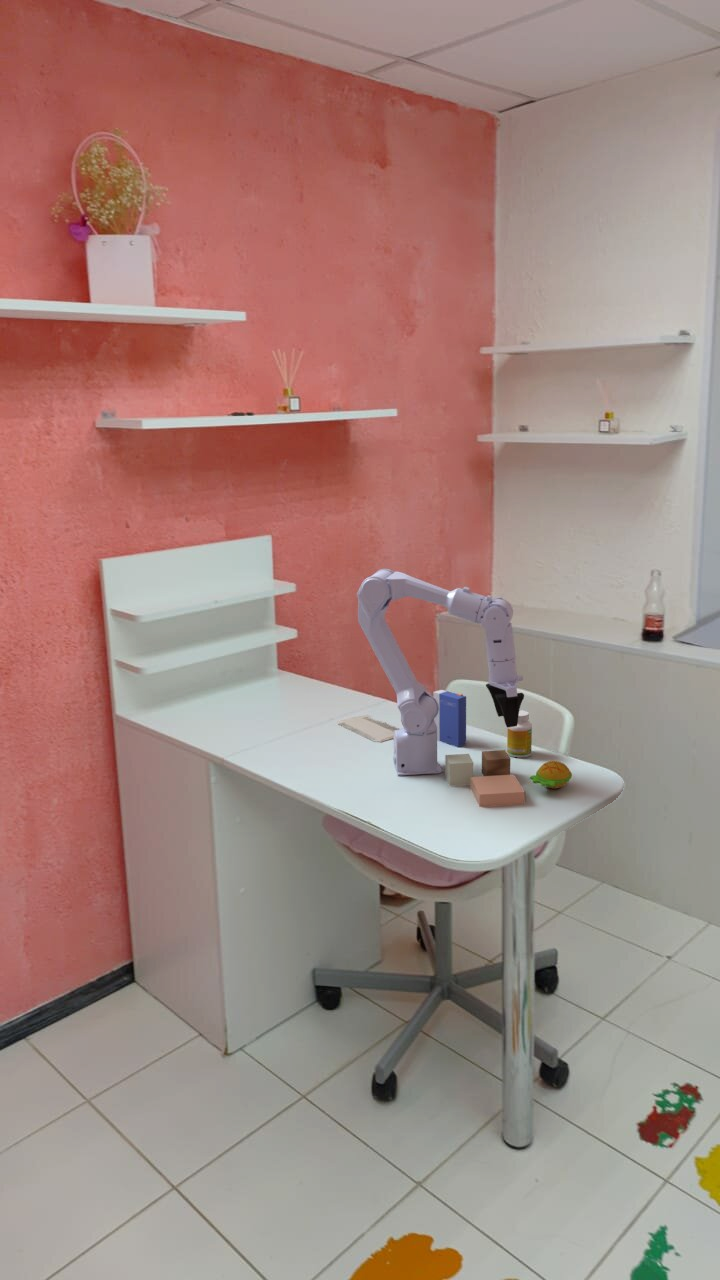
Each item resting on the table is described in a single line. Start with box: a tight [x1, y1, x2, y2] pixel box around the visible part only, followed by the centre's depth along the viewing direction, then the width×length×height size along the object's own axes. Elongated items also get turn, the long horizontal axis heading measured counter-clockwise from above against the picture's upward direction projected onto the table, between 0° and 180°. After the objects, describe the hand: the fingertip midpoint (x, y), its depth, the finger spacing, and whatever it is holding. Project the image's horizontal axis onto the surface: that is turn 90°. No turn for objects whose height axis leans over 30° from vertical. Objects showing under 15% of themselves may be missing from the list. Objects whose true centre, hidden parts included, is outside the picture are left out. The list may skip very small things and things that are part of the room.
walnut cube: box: [481, 749, 511, 776], centre depth 203 cm, size 5×5×5 cm
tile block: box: [470, 774, 526, 808], centre depth 194 cm, size 9×9×3 cm
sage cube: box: [444, 753, 474, 787], centre depth 202 cm, size 5×5×5 cm
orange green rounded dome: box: [529, 760, 573, 789], centre depth 196 cm, size 7×10×5 cm
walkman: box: [432, 689, 467, 748], centre depth 223 cm, size 8×3×12 cm, turn 43°
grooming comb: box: [336, 714, 402, 743], centre depth 235 cm, size 18×10×1 cm, turn 35°
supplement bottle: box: [506, 709, 533, 759], centre depth 215 cm, size 5×5×10 cm
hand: (507, 720), depth 201 cm, fingers open, 7 cm apart
